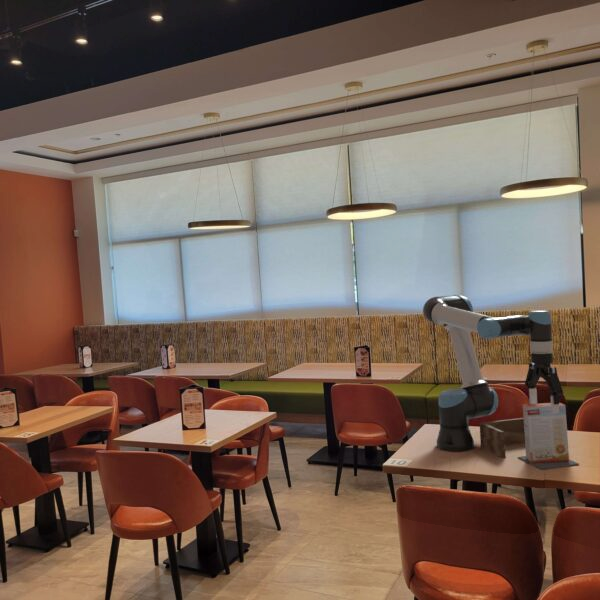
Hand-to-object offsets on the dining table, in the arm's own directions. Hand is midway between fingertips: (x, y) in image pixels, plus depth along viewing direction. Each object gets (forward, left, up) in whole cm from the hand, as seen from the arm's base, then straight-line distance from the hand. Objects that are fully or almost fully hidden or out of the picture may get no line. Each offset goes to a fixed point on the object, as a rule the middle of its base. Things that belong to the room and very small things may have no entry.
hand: (544, 409), depth 214 cm
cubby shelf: (-18, +1, -20) cm, 27 cm away
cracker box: (0, 0, -19) cm, 19 cm away
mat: (0, 0, -20) cm, 20 cm away
